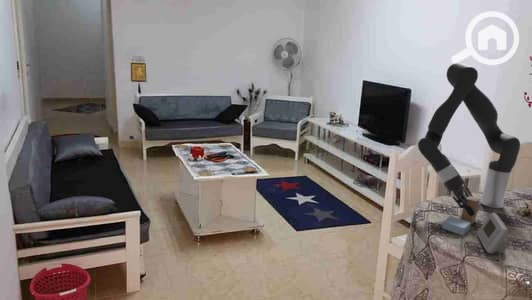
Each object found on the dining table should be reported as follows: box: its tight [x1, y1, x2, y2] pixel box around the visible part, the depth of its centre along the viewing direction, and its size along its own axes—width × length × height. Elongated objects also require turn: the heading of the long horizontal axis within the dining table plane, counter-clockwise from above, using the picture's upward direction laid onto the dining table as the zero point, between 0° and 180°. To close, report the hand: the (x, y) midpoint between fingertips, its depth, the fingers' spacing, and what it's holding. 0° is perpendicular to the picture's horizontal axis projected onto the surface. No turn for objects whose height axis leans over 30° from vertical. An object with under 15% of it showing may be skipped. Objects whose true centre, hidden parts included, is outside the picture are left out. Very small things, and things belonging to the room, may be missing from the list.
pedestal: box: [441, 215, 472, 236], centre depth 171 cm, size 8×8×3 cm
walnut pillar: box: [460, 196, 481, 225], centre depth 178 cm, size 4×4×10 cm
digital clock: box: [476, 212, 509, 255], centre depth 158 cm, size 16×9×11 cm, turn 156°
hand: (474, 213), depth 177 cm, fingers closed on walnut pillar, 4 cm apart
